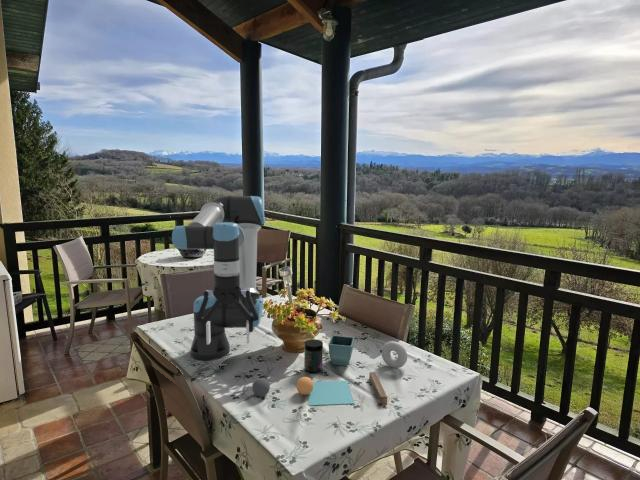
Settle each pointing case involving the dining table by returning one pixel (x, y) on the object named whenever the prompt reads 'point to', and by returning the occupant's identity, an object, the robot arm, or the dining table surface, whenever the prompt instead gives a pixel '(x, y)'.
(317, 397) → the teal mark
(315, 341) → the supplement container
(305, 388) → the object ball
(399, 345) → the donut
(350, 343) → the flower pot
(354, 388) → the dining table surface
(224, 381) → the dining table surface
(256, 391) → the dark grey ball
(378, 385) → the strip
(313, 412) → the dining table surface
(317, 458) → the dining table surface
